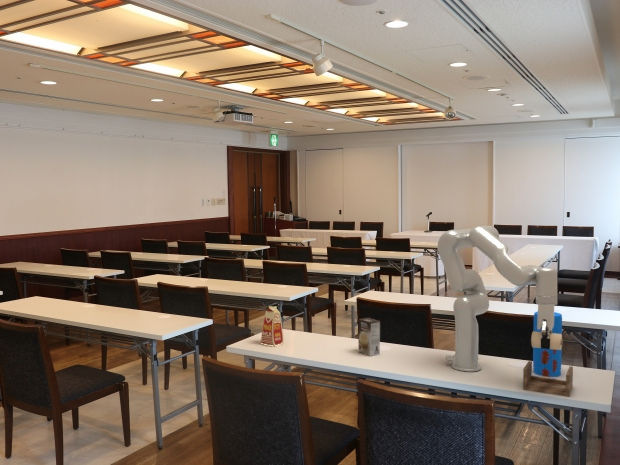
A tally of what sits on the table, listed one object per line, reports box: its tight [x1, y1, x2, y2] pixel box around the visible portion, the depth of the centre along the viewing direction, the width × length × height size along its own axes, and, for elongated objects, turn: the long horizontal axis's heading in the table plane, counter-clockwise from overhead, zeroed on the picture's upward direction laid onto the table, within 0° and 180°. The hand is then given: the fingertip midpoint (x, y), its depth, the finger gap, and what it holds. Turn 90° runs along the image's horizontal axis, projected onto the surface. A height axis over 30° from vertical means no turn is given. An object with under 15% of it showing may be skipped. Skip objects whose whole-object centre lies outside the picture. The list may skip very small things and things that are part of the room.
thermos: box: [532, 311, 563, 378], centre depth 230 cm, size 11×11×25 cm
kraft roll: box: [530, 331, 564, 350], centre depth 211 cm, size 11×6×6 cm, turn 59°
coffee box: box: [357, 317, 381, 357], centre depth 261 cm, size 9×6×16 cm
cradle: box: [522, 360, 574, 398], centre depth 211 cm, size 16×12×8 cm
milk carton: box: [260, 305, 284, 346], centre depth 280 cm, size 9×9×20 cm
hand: (546, 346), depth 211 cm, fingers closed on kraft roll, 6 cm apart
